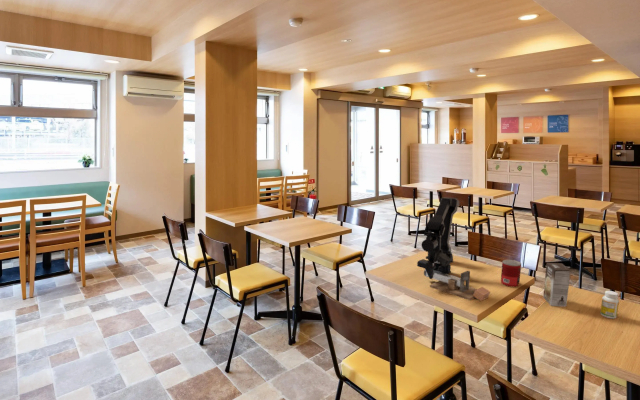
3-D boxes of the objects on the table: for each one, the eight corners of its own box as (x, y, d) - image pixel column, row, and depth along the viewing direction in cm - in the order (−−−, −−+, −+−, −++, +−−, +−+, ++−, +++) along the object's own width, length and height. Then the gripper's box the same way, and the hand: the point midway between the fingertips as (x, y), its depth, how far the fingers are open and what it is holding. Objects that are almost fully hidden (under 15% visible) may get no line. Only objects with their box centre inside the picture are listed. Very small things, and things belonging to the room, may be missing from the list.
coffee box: (542, 297, 172) (545, 262, 169) (558, 298, 170) (561, 262, 168) (550, 306, 163) (554, 269, 160) (567, 307, 161) (571, 270, 159)
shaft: (423, 276, 190) (424, 269, 189) (428, 274, 192) (428, 267, 192) (459, 288, 176) (460, 280, 175) (463, 286, 178) (464, 278, 178)
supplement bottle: (608, 319, 151) (611, 295, 149) (596, 313, 156) (599, 290, 155) (620, 318, 152) (623, 294, 150) (608, 312, 157) (611, 289, 156)
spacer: (483, 295, 166) (481, 301, 167) (490, 291, 170) (488, 297, 171) (475, 290, 169) (473, 295, 170) (482, 286, 173) (479, 292, 174)
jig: (429, 286, 183) (430, 267, 181) (443, 280, 191) (444, 262, 189) (469, 300, 168) (471, 279, 166) (483, 293, 176) (484, 272, 174)
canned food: (521, 287, 182) (523, 265, 180) (502, 286, 184) (504, 264, 182) (516, 281, 189) (518, 260, 188) (498, 280, 191) (500, 259, 189)
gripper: (438, 254, 174) (436, 287, 176) (460, 246, 186) (458, 277, 188) (417, 249, 182) (415, 280, 185) (439, 241, 194) (437, 271, 197)
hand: (432, 277), depth 188 cm, fingers closed on shaft, 3 cm apart
